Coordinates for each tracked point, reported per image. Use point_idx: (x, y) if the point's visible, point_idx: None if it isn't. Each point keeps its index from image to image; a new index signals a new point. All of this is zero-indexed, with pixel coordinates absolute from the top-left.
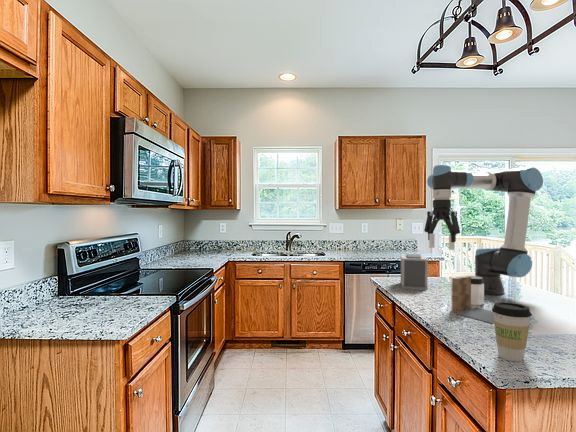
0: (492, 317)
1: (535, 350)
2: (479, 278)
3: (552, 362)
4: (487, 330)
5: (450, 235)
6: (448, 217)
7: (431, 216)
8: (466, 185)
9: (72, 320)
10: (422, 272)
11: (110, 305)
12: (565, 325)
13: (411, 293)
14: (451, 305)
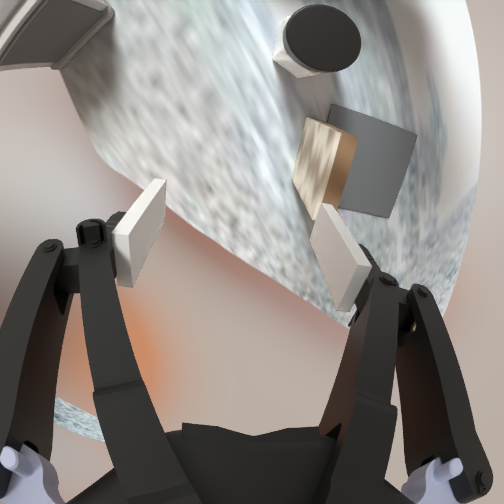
0: (384, 176)
1: (431, 286)
2: (354, 51)
3: (438, 304)
4: (384, 259)
5: (348, 307)
6: (370, 454)
7: (29, 437)
8: None
9: (96, 431)
10: (71, 12)
11: (61, 412)
12: (476, 134)
13: (106, 91)
14: (294, 183)
